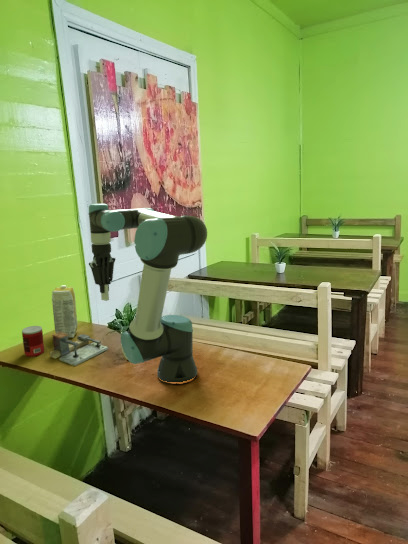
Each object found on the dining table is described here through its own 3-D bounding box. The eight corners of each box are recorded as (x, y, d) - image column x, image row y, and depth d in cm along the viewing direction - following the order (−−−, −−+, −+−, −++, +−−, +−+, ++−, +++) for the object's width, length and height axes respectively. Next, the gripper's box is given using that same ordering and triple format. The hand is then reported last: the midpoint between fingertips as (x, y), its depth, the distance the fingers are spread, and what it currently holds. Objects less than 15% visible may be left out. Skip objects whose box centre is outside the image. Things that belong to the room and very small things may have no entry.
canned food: (47, 349, 174) (45, 325, 171) (38, 357, 166) (35, 333, 164) (30, 348, 175) (28, 325, 172) (21, 357, 167) (18, 332, 164)
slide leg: (82, 357, 166) (81, 338, 164) (74, 361, 163) (72, 341, 161) (62, 349, 173) (60, 331, 171) (53, 353, 170) (52, 334, 168)
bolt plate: (108, 349, 174) (107, 346, 174) (74, 366, 159) (74, 363, 159) (93, 344, 179) (93, 341, 179) (59, 360, 164) (59, 357, 164)
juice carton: (79, 331, 193) (75, 283, 187) (75, 338, 185) (70, 288, 179) (59, 332, 192) (54, 284, 186) (54, 339, 185) (49, 289, 179)
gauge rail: (103, 347, 176) (102, 340, 175) (69, 364, 161) (68, 355, 160) (83, 341, 182) (82, 333, 182) (49, 356, 168) (48, 348, 167)
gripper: (105, 240, 167) (109, 294, 172) (81, 244, 156) (86, 302, 161) (119, 241, 163) (122, 297, 169) (96, 246, 152) (100, 305, 158)
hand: (105, 299), depth 165 cm, fingers closed
